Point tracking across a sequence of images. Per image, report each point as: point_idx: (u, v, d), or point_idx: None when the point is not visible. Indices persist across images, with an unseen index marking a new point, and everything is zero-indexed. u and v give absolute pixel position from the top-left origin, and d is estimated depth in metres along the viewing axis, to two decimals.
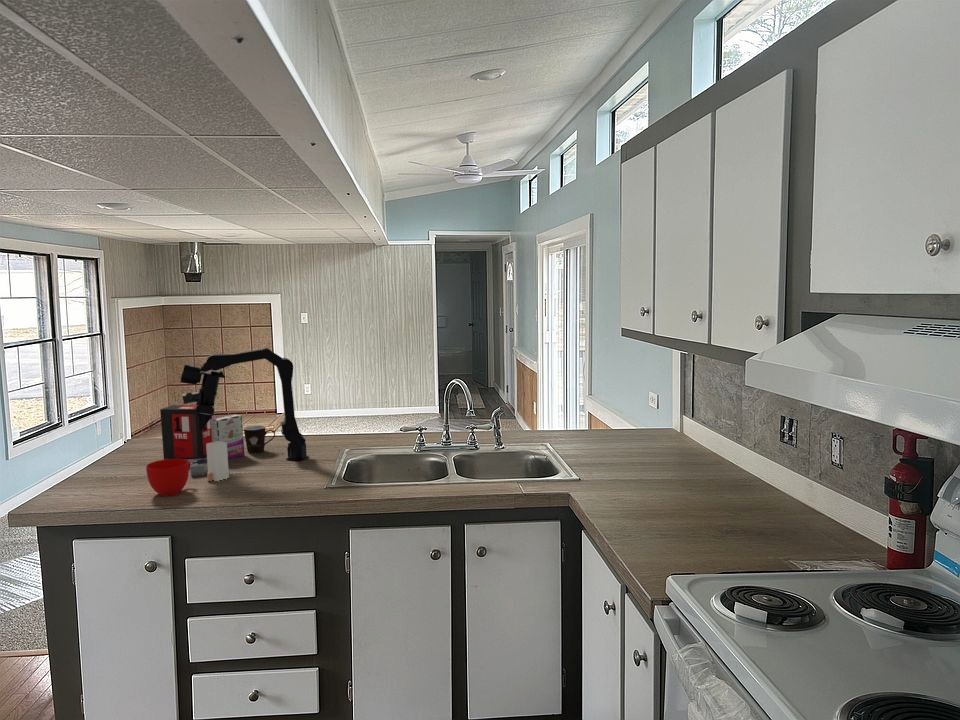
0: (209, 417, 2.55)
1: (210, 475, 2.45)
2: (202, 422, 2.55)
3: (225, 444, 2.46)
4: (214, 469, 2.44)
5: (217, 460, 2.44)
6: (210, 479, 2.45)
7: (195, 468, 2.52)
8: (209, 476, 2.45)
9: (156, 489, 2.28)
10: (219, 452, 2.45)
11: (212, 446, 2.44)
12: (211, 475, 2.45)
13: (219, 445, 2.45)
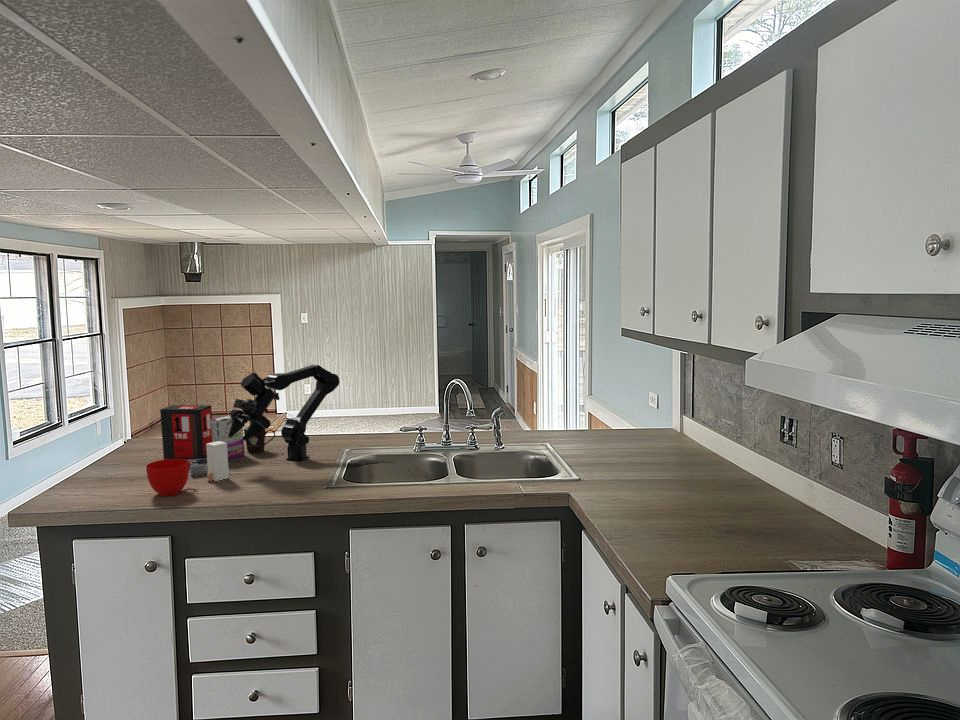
0: (259, 430, 2.53)
1: (210, 475, 2.45)
2: (250, 432, 2.51)
3: (225, 444, 2.46)
4: (214, 469, 2.44)
5: (217, 460, 2.44)
6: (210, 479, 2.45)
7: (195, 468, 2.52)
8: (209, 476, 2.45)
9: (156, 489, 2.28)
10: (219, 452, 2.45)
11: (212, 446, 2.44)
12: (211, 475, 2.45)
13: (219, 445, 2.45)
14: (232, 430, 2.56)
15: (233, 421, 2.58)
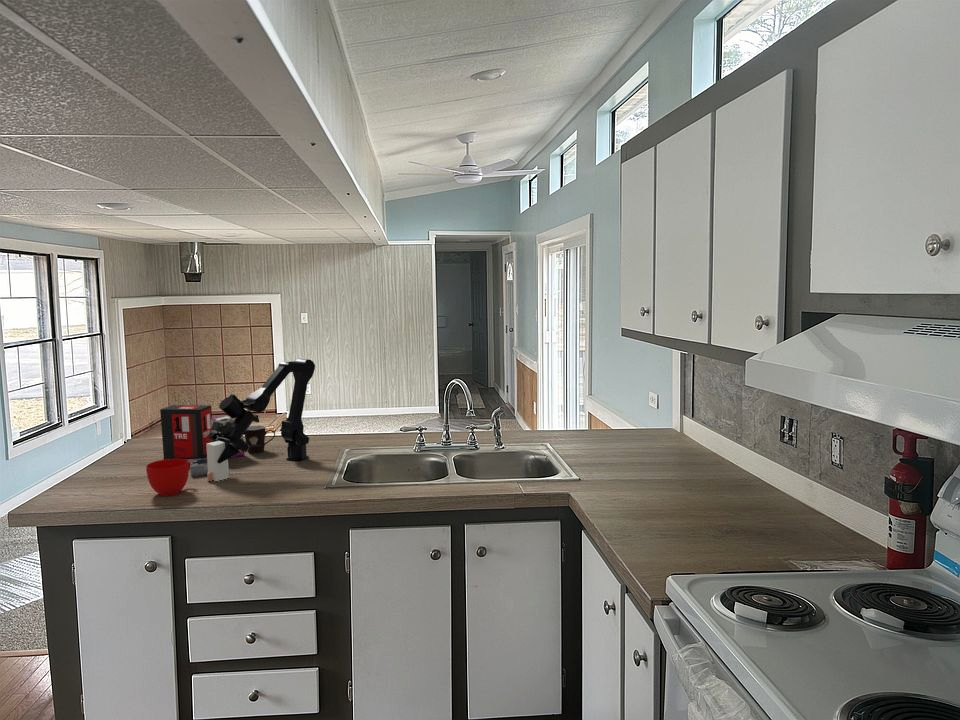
0: (234, 453, 2.47)
1: (210, 475, 2.45)
2: (225, 455, 2.45)
3: None
4: (214, 469, 2.44)
5: (217, 460, 2.44)
6: (210, 479, 2.45)
7: (195, 468, 2.52)
8: (209, 476, 2.45)
9: (156, 489, 2.28)
10: (219, 452, 2.45)
11: (212, 446, 2.43)
12: (211, 475, 2.45)
13: (219, 445, 2.45)
14: None
15: None
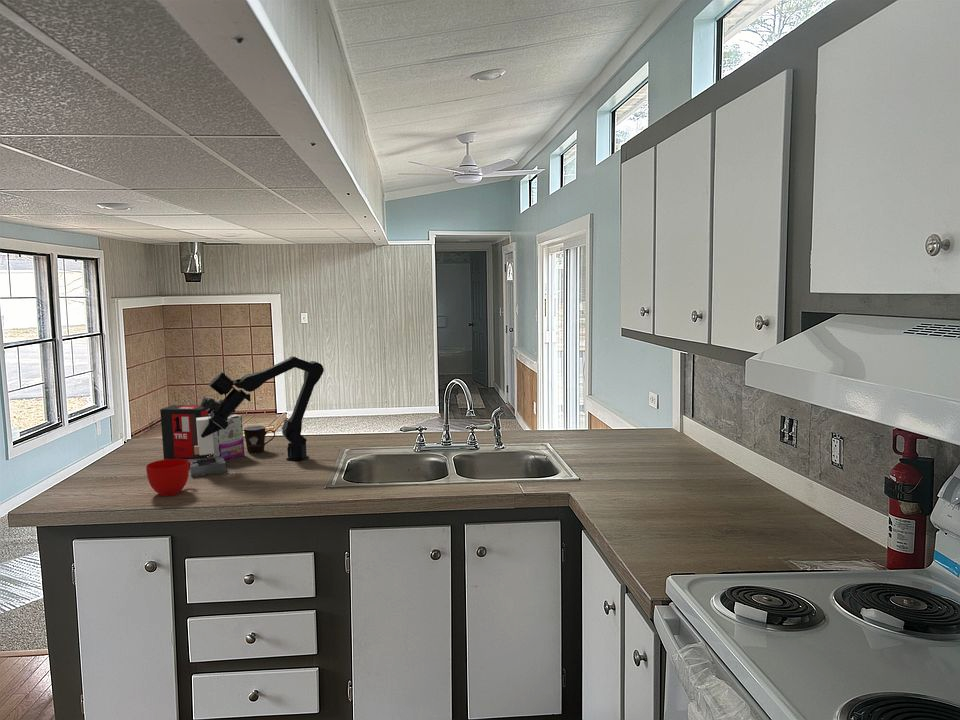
0: (217, 429, 2.55)
1: (196, 448, 2.56)
2: (208, 430, 2.54)
3: None
4: (198, 443, 2.55)
5: None
6: (196, 452, 2.57)
7: (195, 468, 2.52)
8: (195, 449, 2.56)
9: (156, 489, 2.28)
10: (203, 427, 2.55)
11: (196, 421, 2.54)
12: (197, 448, 2.57)
13: (203, 420, 2.55)
14: None
15: None
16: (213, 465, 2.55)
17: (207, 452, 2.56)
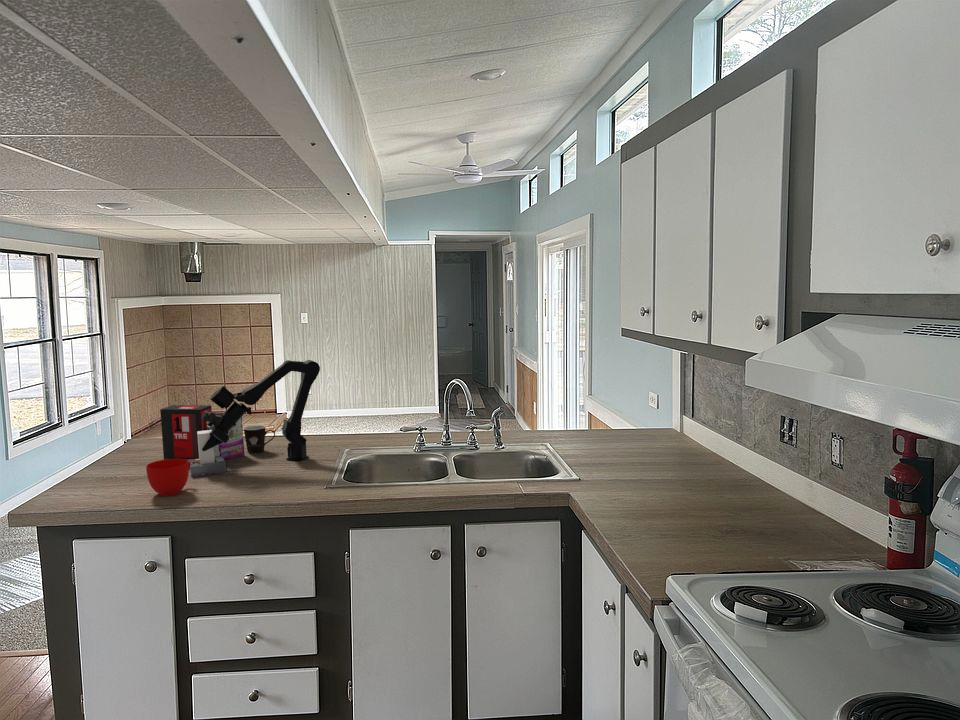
0: (218, 442, 2.56)
1: (197, 462, 2.57)
2: (209, 444, 2.55)
3: None
4: (199, 457, 2.56)
5: None
6: None
7: (195, 468, 2.52)
8: (196, 462, 2.57)
9: (156, 489, 2.28)
10: (204, 441, 2.56)
11: (197, 434, 2.55)
12: (198, 461, 2.58)
13: (204, 434, 2.55)
14: None
15: None
16: (213, 465, 2.55)
17: None
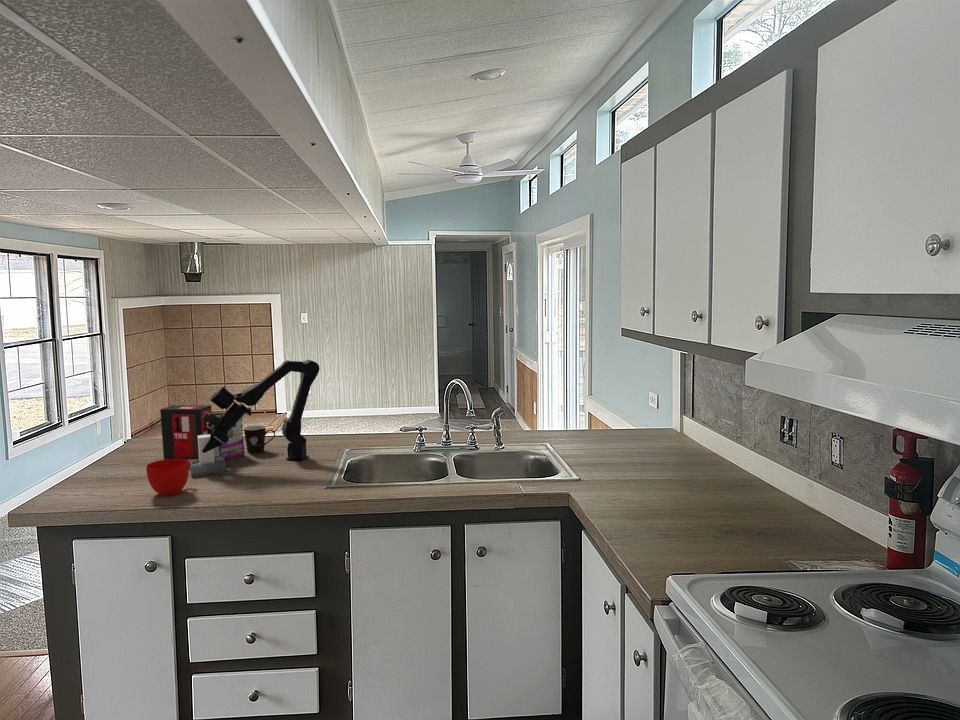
0: (219, 444, 2.54)
1: None
2: (209, 445, 2.54)
3: None
4: (200, 461, 2.56)
5: (202, 452, 2.56)
6: None
7: (195, 468, 2.52)
8: None
9: (156, 489, 2.28)
10: (204, 445, 2.56)
11: (198, 438, 2.56)
12: None
13: (204, 438, 2.56)
14: None
15: (207, 433, 2.63)
16: (213, 465, 2.55)
17: None
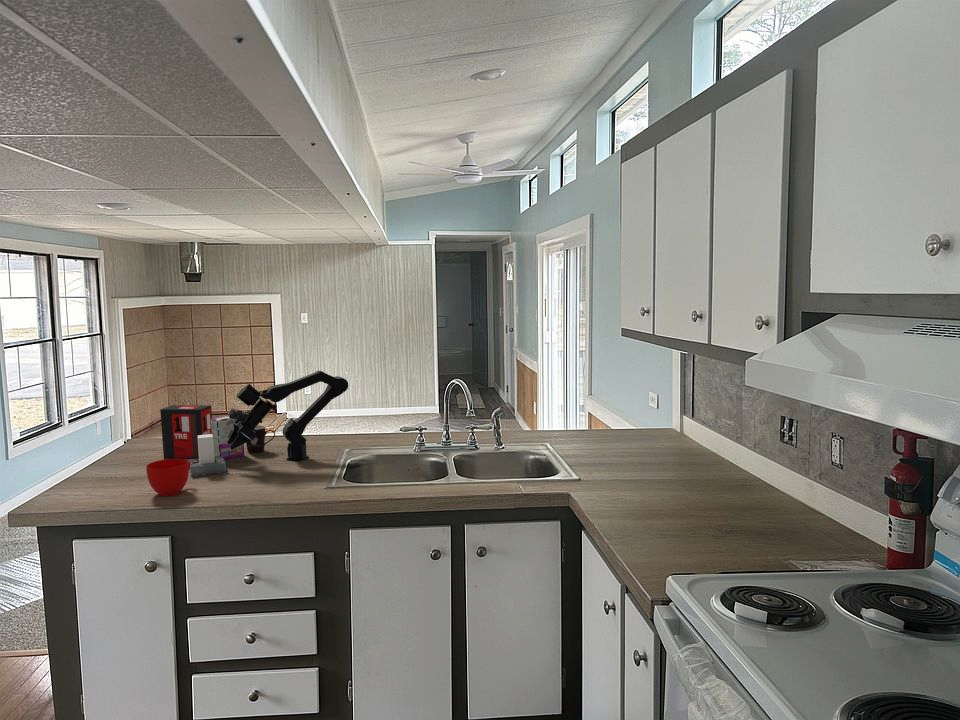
0: (246, 441, 2.59)
1: None
2: (237, 442, 2.58)
3: (211, 438, 2.57)
4: (199, 461, 2.56)
5: (202, 452, 2.56)
6: None
7: (195, 468, 2.52)
8: None
9: (156, 489, 2.28)
10: (204, 445, 2.56)
11: (198, 438, 2.56)
12: None
13: (204, 438, 2.56)
14: (230, 438, 2.67)
15: None
16: (213, 465, 2.55)
17: None
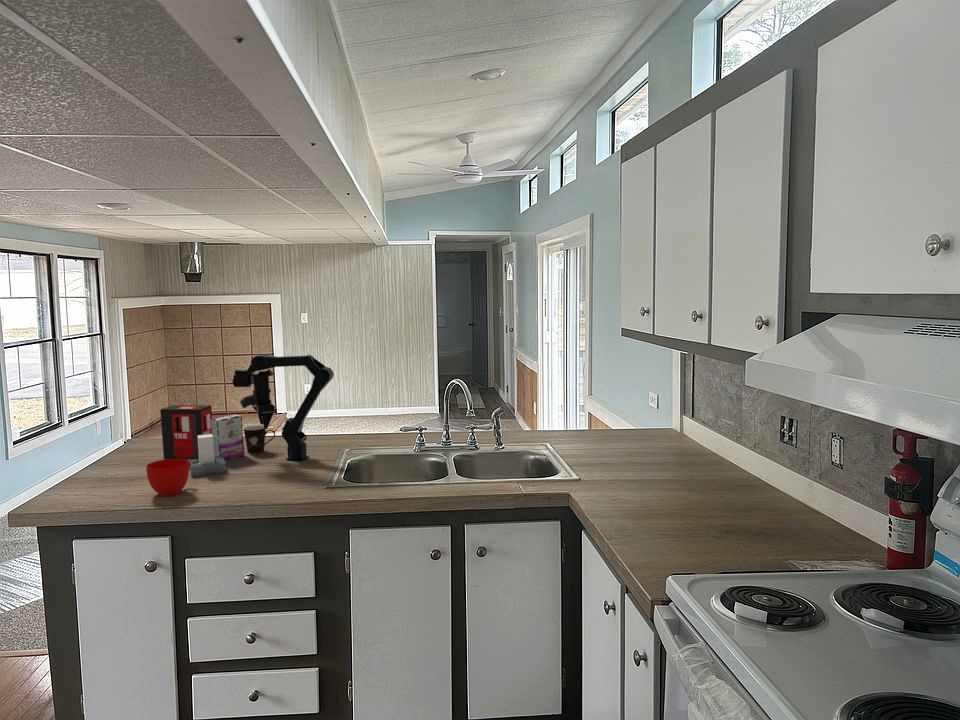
0: (271, 414, 2.67)
1: None
2: (266, 420, 2.67)
3: (211, 438, 2.57)
4: (200, 461, 2.56)
5: (202, 452, 2.56)
6: None
7: (195, 468, 2.52)
8: None
9: (156, 489, 2.28)
10: (204, 445, 2.56)
11: (198, 438, 2.56)
12: None
13: (204, 438, 2.56)
14: (260, 419, 2.76)
15: None
16: (213, 465, 2.55)
17: None
